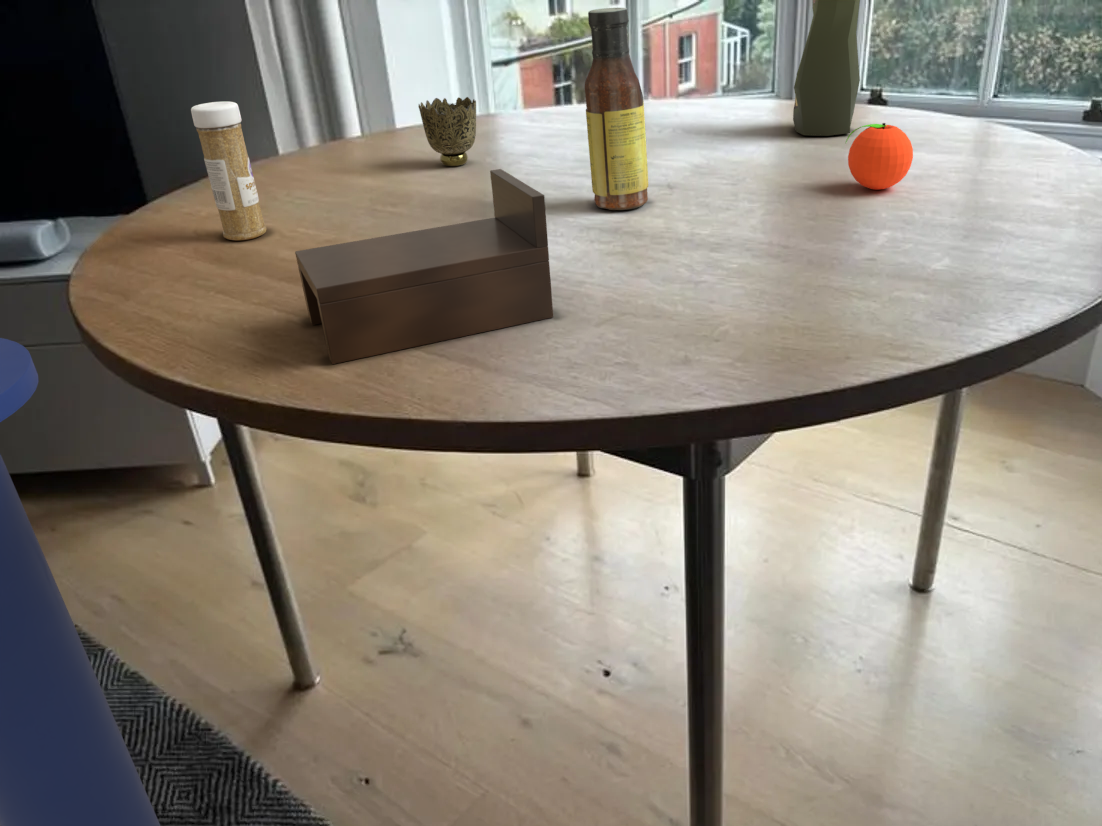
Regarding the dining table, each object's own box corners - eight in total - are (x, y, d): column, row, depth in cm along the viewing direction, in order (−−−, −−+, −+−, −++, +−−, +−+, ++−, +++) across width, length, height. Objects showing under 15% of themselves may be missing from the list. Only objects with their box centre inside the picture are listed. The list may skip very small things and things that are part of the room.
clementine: (825, 189, 105) (830, 124, 102) (857, 176, 110) (863, 113, 106) (889, 200, 100) (897, 132, 97) (920, 186, 105) (928, 120, 101)
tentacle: (846, 122, 136) (867, -118, 121) (864, 140, 125) (889, -120, 110) (783, 124, 136) (796, -114, 121) (796, 143, 126) (812, -116, 111)
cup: (487, 157, 127) (481, 95, 123) (476, 170, 121) (469, 105, 117) (434, 158, 128) (426, 97, 124) (420, 171, 121) (411, 107, 117)
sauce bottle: (657, 199, 105) (654, 5, 95) (633, 214, 100) (628, 12, 90) (606, 194, 108) (598, 5, 98) (580, 209, 103) (569, 12, 93)
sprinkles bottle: (272, 235, 99) (242, 103, 93) (229, 244, 97) (196, 110, 91) (260, 226, 103) (230, 98, 96) (218, 234, 101) (184, 104, 94)
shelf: (332, 364, 70) (305, 234, 65) (309, 320, 78) (283, 201, 73) (553, 317, 76) (544, 195, 71) (511, 281, 84) (500, 168, 79)
